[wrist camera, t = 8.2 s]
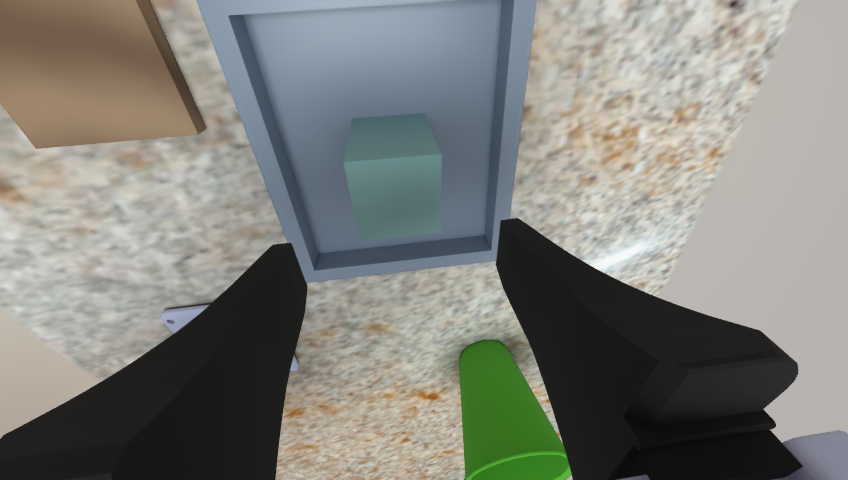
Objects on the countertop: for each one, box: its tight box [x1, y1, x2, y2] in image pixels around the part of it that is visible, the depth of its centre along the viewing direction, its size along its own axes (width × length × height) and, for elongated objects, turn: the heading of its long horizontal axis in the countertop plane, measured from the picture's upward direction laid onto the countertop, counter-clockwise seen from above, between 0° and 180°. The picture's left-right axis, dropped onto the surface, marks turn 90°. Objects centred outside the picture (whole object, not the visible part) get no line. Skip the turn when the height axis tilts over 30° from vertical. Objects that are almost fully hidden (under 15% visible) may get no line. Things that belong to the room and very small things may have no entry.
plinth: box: [0, 0, 206, 149], centre depth 15 cm, size 8×8×1 cm
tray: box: [196, 0, 537, 283], centre depth 19 cm, size 16×14×2 cm
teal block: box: [344, 113, 442, 241], centre depth 17 cm, size 4×5×6 cm
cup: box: [459, 341, 572, 480], centre depth 30 cm, size 9×9×11 cm
